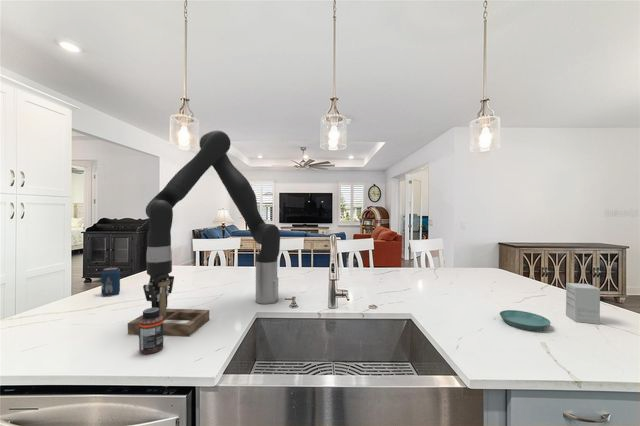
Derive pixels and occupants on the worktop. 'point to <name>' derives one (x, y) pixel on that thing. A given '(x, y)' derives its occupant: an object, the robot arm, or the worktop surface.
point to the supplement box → (583, 303)
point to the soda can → (110, 281)
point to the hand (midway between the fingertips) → (159, 309)
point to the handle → (163, 298)
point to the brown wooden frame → (177, 322)
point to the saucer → (524, 320)
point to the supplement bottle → (150, 331)
